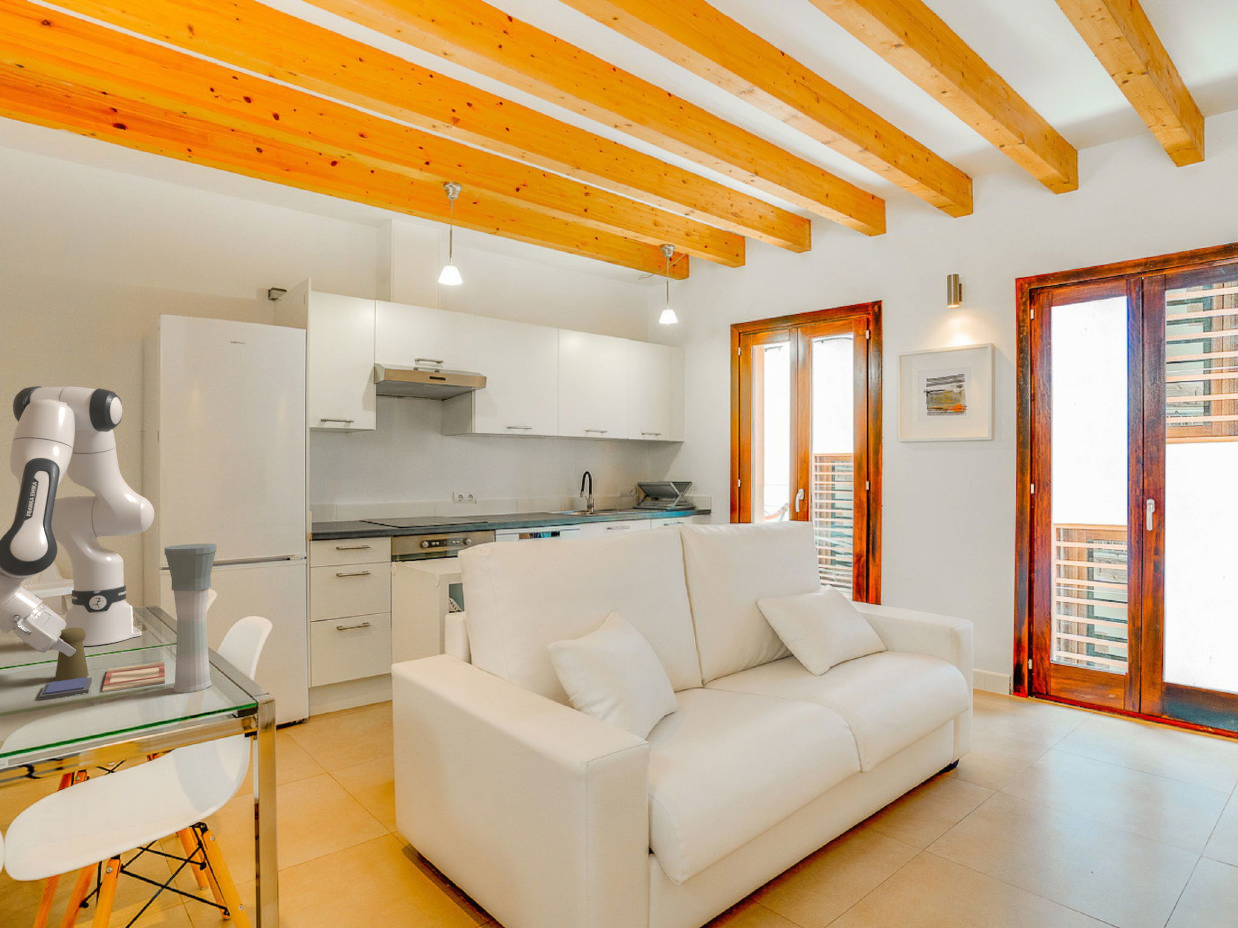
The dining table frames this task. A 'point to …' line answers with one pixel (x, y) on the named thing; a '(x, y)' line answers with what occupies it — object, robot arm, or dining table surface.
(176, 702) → the dining table surface
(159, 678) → the marked board
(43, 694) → the ink pad
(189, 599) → the container
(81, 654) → the brown tapered round-topped piece
